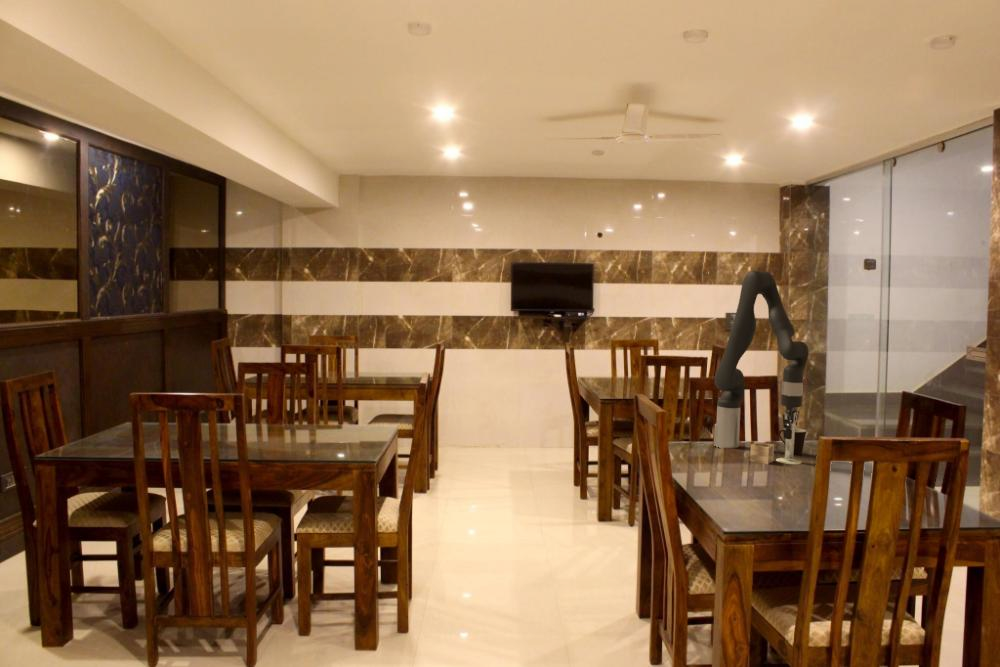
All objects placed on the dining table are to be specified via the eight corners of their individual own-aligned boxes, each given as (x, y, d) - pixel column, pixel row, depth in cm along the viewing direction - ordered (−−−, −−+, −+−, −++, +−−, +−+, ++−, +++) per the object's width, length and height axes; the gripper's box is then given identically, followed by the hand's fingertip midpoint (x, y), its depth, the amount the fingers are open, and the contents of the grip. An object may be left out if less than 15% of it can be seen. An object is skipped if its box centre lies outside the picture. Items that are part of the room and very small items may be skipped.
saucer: (772, 463, 275) (773, 460, 275) (780, 459, 282) (780, 456, 282) (797, 467, 269) (797, 464, 269) (804, 463, 276) (804, 460, 276)
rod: (783, 458, 275) (785, 422, 274) (786, 456, 277) (787, 421, 276) (791, 459, 273) (793, 423, 272) (794, 458, 276) (796, 422, 275)
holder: (749, 463, 274) (750, 445, 274) (755, 460, 279) (756, 442, 279) (767, 466, 270) (768, 447, 270) (773, 462, 275) (773, 445, 275)
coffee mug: (808, 457, 287) (809, 432, 286) (786, 456, 287) (787, 431, 286) (796, 450, 298) (798, 426, 298) (776, 449, 298) (777, 426, 298)
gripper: (787, 390, 281) (785, 434, 283) (776, 394, 270) (774, 439, 272) (807, 392, 277) (805, 437, 278) (797, 396, 266) (794, 442, 267)
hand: (789, 438), depth 275 cm, fingers closed on rod, 3 cm apart
